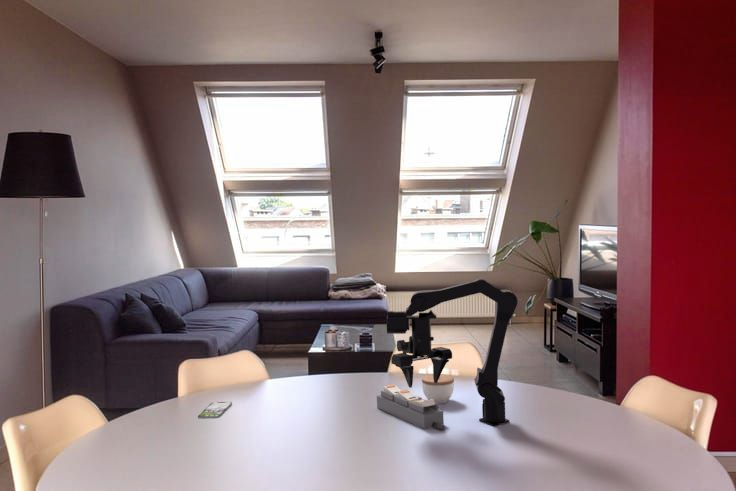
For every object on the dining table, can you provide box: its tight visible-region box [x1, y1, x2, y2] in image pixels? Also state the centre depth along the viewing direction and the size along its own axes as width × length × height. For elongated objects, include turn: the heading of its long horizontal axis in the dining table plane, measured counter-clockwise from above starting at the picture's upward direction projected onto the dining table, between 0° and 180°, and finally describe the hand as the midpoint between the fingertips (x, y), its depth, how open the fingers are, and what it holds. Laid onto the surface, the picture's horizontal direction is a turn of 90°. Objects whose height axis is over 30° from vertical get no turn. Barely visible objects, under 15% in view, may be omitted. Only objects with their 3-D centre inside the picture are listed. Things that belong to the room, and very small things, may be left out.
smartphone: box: [197, 401, 233, 419], centre depth 199 cm, size 7×1×15 cm
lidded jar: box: [421, 373, 455, 405], centre depth 201 cm, size 11×11×9 cm
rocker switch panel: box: [376, 390, 445, 431], centre depth 185 cm, size 30×7×6 cm, turn 31°
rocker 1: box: [412, 398, 435, 407], centre depth 180 cm, size 6×4×2 cm, turn 31°
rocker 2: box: [398, 389, 419, 403], centre depth 186 cm, size 6×4×2 cm, turn 31°
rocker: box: [383, 384, 403, 399], centre depth 193 cm, size 6×4×2 cm, turn 31°
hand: (423, 385), depth 180 cm, fingers open, 9 cm apart
